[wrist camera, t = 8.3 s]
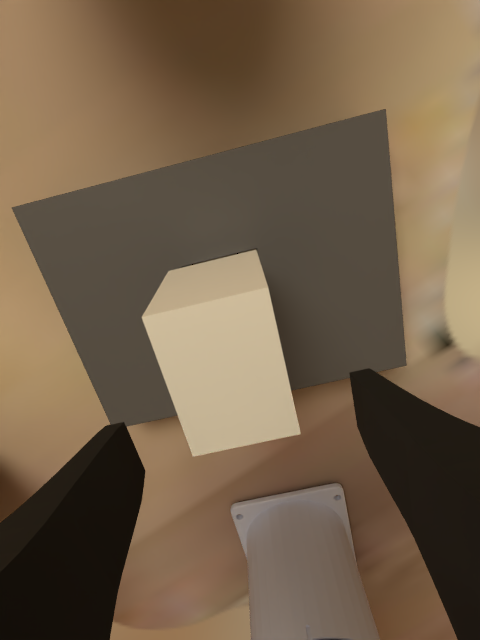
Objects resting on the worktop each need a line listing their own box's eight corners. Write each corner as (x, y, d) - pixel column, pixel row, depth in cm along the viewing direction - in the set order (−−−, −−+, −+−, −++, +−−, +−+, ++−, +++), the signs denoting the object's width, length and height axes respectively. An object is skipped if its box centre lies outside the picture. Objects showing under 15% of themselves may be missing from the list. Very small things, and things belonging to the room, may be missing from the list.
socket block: (384, 340, 22) (406, 365, 20) (126, 398, 23) (112, 429, 21) (361, 117, 18) (385, 108, 15) (43, 201, 19) (11, 207, 16)
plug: (272, 328, 19) (300, 433, 11) (207, 343, 19) (192, 456, 12) (251, 234, 17) (268, 287, 10) (179, 252, 17) (141, 317, 10)
